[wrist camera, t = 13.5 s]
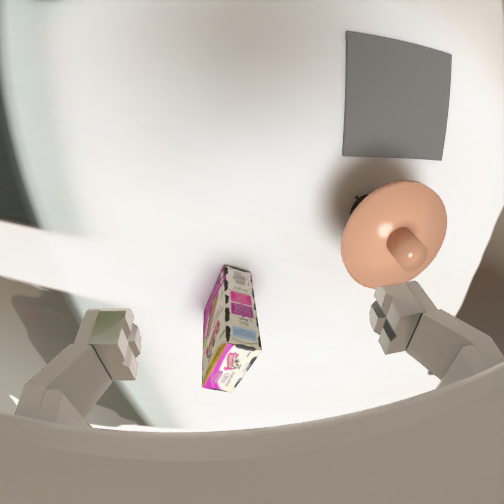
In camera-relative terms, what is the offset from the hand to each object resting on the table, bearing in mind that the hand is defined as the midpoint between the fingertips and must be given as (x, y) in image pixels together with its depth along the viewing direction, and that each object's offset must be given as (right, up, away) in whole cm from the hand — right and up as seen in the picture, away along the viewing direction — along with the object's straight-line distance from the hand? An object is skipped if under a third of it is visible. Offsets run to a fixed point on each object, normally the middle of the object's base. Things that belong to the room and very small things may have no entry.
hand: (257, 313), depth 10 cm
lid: (+19, +4, +29) cm, 35 cm away
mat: (+21, +24, +28) cm, 42 cm away
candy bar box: (-5, -5, +44) cm, 44 cm away
